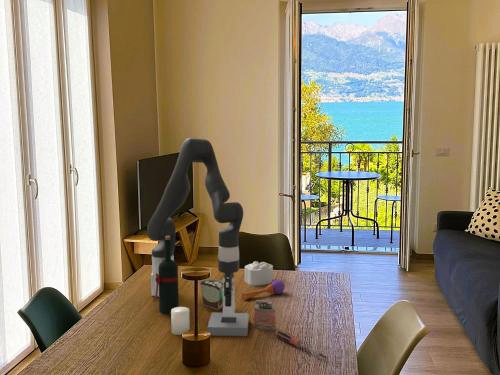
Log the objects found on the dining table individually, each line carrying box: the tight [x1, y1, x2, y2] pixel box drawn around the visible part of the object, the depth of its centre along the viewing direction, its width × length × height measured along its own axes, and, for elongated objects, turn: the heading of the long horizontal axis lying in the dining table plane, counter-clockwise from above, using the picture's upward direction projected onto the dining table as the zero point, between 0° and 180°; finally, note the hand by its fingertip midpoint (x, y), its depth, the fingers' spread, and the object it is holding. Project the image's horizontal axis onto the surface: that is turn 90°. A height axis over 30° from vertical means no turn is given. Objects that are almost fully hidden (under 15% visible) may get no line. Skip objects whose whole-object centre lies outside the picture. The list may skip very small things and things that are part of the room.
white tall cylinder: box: [222, 286, 236, 317], centre depth 194 cm, size 4×4×10 cm
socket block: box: [206, 312, 250, 337], centre depth 195 cm, size 14×14×3 cm
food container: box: [199, 278, 223, 311], centre depth 217 cm, size 12×6×10 cm, turn 47°
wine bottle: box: [152, 236, 180, 315], centre depth 210 cm, size 8×10×30 cm
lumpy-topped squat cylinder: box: [244, 261, 274, 286], centre depth 250 cm, size 10×13×9 cm
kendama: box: [241, 279, 285, 301], centre depth 230 cm, size 6×6×20 cm
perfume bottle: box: [253, 299, 276, 331], centre depth 195 cm, size 8×3×10 cm, turn 71°
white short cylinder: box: [170, 306, 191, 336], centre depth 191 cm, size 6×6×8 cm
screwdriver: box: [275, 329, 328, 359], centre depth 178 cm, size 25×3×3 cm, turn 36°
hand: (228, 303), depth 194 cm, fingers closed on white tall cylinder, 4 cm apart
